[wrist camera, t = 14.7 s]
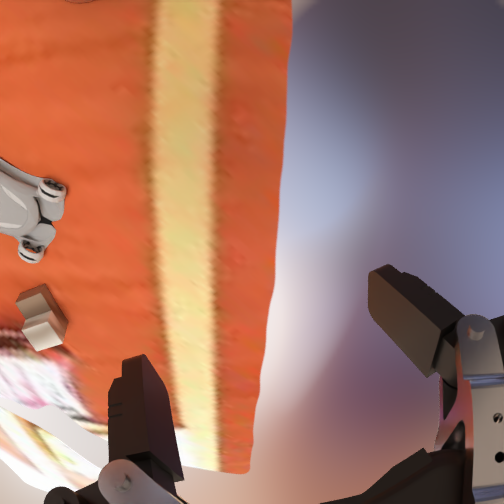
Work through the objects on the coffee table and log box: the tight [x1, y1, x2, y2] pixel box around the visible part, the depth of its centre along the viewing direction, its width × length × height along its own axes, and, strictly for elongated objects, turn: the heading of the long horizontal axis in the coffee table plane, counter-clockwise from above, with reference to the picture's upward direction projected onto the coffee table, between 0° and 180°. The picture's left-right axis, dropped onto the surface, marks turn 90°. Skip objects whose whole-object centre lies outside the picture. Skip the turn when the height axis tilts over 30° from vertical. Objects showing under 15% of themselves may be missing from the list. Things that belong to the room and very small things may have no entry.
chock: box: [15, 284, 68, 351], centre depth 36 cm, size 7×5×5 cm
